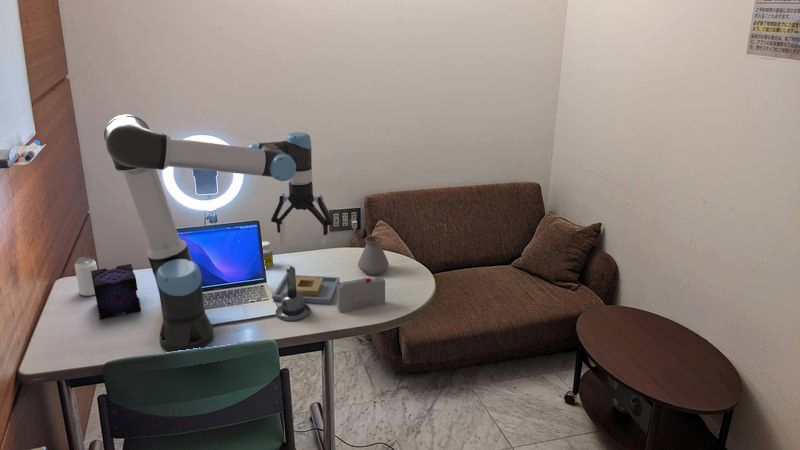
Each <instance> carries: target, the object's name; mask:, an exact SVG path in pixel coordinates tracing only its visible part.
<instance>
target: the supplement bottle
mask: <svg viewBox="0 0 800 450" xmlns="http://www.w3.org/2000/svg"><path fill="white" fill-rule="evenodd" d="M261 242H262V248H263V255H264V260H265V266H266V269H265V270H270V269H272V268H273V267H274V257H273V256H274V255H273V248H272V247H271V244H270V242H269V241H261Z"/></svg>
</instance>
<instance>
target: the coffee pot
mask: <svg viewBox="0 0 800 450" xmlns="http://www.w3.org/2000/svg"><path fill="white" fill-rule="evenodd" d="M362 223H363V225H365V230H366V232H367V235H368V236H366V237H365V238H364V242H365V247H364V249H363V251H362V253H361V255H360V258H359V259H358V263H357V267H358V268H359V270H360V271H361V272H363V273H364V274H365V275H369V276H379V275H382V274H383V273H384V272H386V270H387V269H388V267H389V265H390V264H389V261H388V258H387V256H386V254H385V252H384V249H383V247H382V245H381V243H382V241H383V237H380V236H378V235H371V229H370V226H369V223H370V221H369V220H368V219H365V220H363V222H362Z"/></svg>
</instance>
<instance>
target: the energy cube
mask: <svg viewBox="0 0 800 450" xmlns="http://www.w3.org/2000/svg"><path fill="white" fill-rule="evenodd" d="M91 275H92V280H93V286H94V291H95V300H96V304H97V312H98V317H99V320H100V321H102V320H107V319H111V318H116V316H117V315H121V314H125V315H131V314H134V313H138V312H142V310H141V302H140V298H139V296H138V294H137V292H138V284H137V277H136V274H135V272H134V269H133V266H132V263H128V264H121V265H118V266H116V267H115V268H110V269H107V268H106V267H105V268H100V269H97V270H93V271H91Z"/></svg>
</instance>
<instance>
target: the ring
mask: <svg viewBox="0 0 800 450" xmlns="http://www.w3.org/2000/svg"><path fill="white" fill-rule="evenodd" d="M323 286H324V280H323V278H315V277H296V291H298V292H301V293H302V294H303V297H319V295H320V293H321V290H322V288H323Z"/></svg>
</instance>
